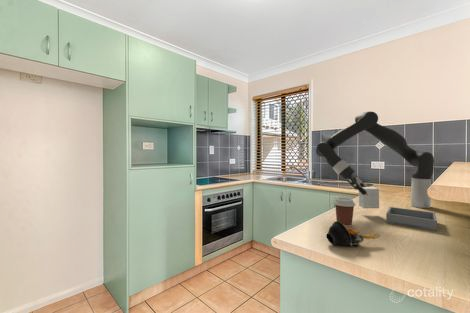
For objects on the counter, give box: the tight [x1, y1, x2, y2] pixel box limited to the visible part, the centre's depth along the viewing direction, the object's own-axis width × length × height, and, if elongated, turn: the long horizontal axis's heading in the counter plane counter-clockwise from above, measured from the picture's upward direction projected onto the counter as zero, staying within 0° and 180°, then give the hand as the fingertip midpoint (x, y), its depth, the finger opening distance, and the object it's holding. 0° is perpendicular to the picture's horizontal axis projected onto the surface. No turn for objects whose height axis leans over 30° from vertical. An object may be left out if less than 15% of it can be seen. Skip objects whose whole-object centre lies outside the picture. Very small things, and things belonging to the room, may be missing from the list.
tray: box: [385, 206, 438, 232], centre depth 108 cm, size 16×18×4 cm
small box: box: [358, 186, 380, 209], centre depth 120 cm, size 8×6×10 cm
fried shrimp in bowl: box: [325, 220, 380, 247], centre depth 84 cm, size 9×11×18 cm
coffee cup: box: [333, 197, 356, 228], centre depth 105 cm, size 9×9×12 cm
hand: (366, 192), depth 120 cm, fingers closed on small box, 8 cm apart
